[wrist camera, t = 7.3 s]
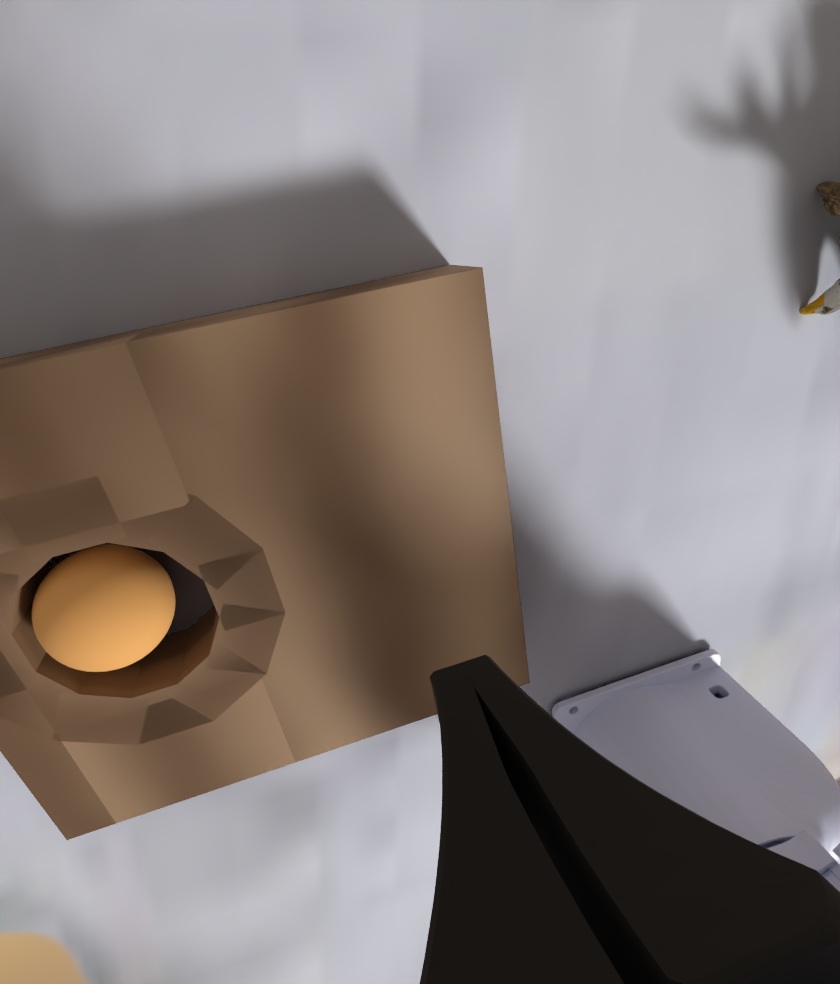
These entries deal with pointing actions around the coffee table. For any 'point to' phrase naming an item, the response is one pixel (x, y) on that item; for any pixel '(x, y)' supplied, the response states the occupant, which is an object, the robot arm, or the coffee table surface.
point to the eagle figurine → (836, 202)
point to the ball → (103, 608)
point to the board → (258, 535)
